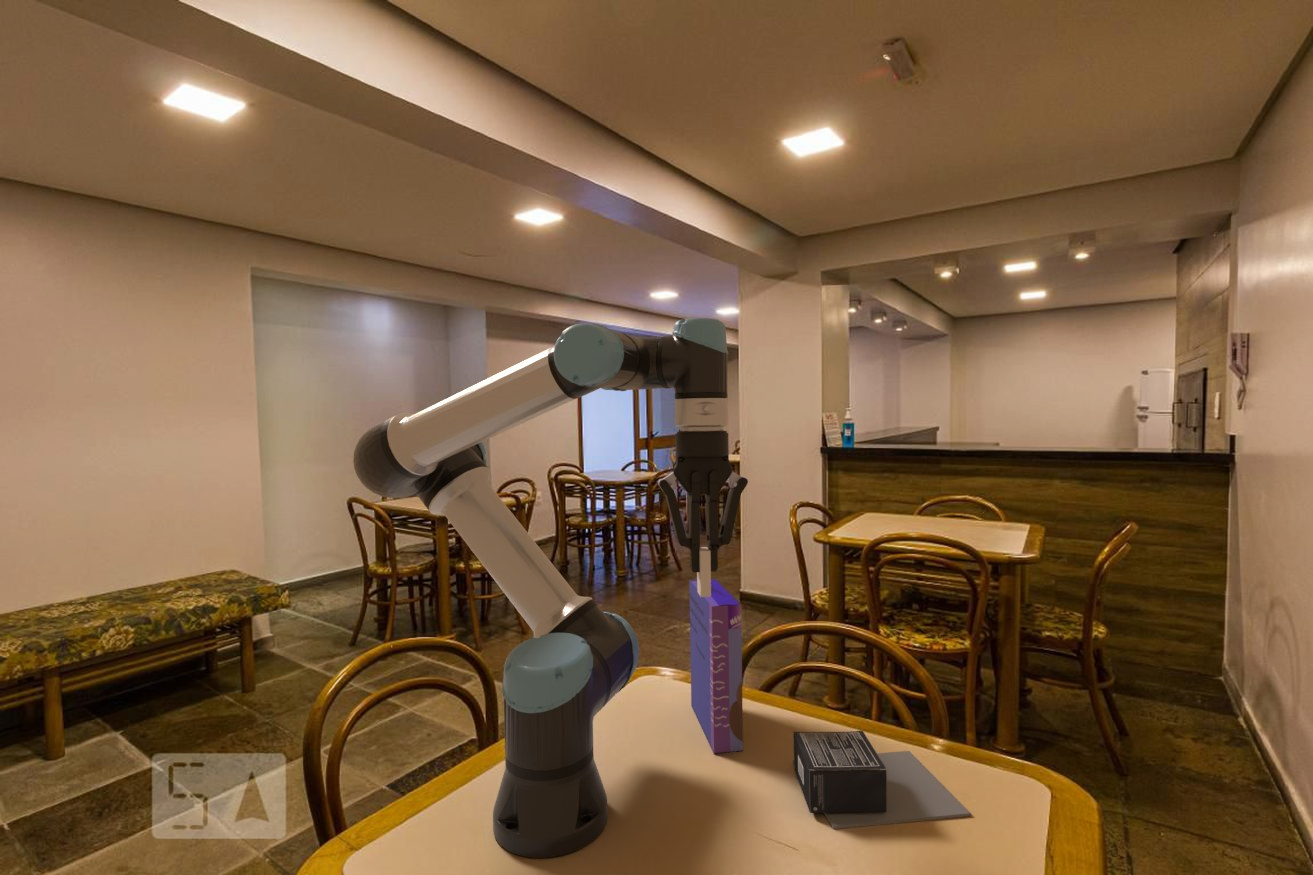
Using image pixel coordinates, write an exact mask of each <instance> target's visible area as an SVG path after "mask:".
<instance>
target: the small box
mask: <svg viewBox="0 0 1313 875" xmlns="http://www.w3.org/2000/svg"><path fill="white" fill-rule="evenodd" d="M877 753H878V752H877V751H876V750H875V748H874V747H873V745H872V743H871V742H870V740H869V738H868V737H867V735H866V733H865V732H864V731H863V730H855V731H853V730H852V731H793V760H794V764H793V766H794V767H793V768H794V770H793V771H794V773H795V777H796V778H797V781H798V784H799V786H800V789H801V792H802V794H803V797H804V800H805V803H806V805H807V808H808V812H809V813H810V814H824V813H837V812H887V769H886V767H885V765H884V764H883V762H882V761H881V759H880V757H879V756H878V754H877Z"/></svg>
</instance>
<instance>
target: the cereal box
mask: <svg viewBox="0 0 1313 875" xmlns="http://www.w3.org/2000/svg"><path fill="white" fill-rule="evenodd" d="M688 581H689V585H688V586H689V640H690V641H689V643H690V645H689V647H690V648H689V649H690V695H691V696H690V699H691V700H690V705H691V709H692V710H693V712H694V715H695V717H696V719H697V721H698V723H699V725H700V728H701V730H702V732H703V734H704V736H705V739H706V741H707V743H708V744H709V747H710V750H712V753H713V755H724V754H733V753H742V752H744V731H743V730H744V726H743V725H744V724H743V720H744V719H743V718H744V717H743V716H744V714H743V659H742V658H743V657H742V656H743V655H742V654H743V652H742V649H743V646H742V642H743V641H742V604H741V603H740V602H739V601H738V600H737V599H736V598H735V596H733V595H732V594H731V593H730V592H729V591H728V590H727V589H726V588H725V587H724V586H723V585H722V584H721V583H720V582H719V581H718V580H717V579H716V578H715V577H711V597H700V595H699V594H698V592H697V577H696V578H690V579H688Z"/></svg>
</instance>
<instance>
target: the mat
mask: <svg viewBox="0 0 1313 875" xmlns="http://www.w3.org/2000/svg"><path fill="white" fill-rule="evenodd" d="M876 753H877V754H878V756H879V757H880V759H881V761H882V762H883V764H884V765H885V767H886V769H887V812H837V813H823V814H824V816H825V818H826V819H827V821H828V822H829V824H830V827H831V828H832V829H833V830H839V829H849V828H858V827H869V826H870V827H871V826H879V825H880V826H881V825H889V824H893V825H894V824H901V823H902V824H903V823H912V822H913V823H914V822H923V821H933V820H944V819H956V818H966V817H972V815H971V812H970V811H969V810H968V809H967V808H966V806H964V804H962V803H961V802H960V801H959V800H958V798H956V797H955V796H954V795H953V793H952V792H950V790H949V789H948V788H946V787H945V785H943V783H942V782H940V780H938V778H937V777H936V776H935V775H934V774H933V773H932V772H930V770H929V769H928V768H927V767H926V766H925V765H924V764H923V763H922V762H921V761H920V760H919V758H917V757H916V756H915V755H914V754H913V753H912V752H911V750H904V751H892V752H879V753H878V752H876ZM792 764H793V765H794V759H793V760H792Z"/></svg>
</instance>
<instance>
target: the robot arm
mask: <svg viewBox="0 0 1313 875" xmlns="http://www.w3.org/2000/svg"><path fill="white" fill-rule="evenodd" d="M727 343H728V342H727V330H726V326H725V324H724V322H723V321H721V320H719V319H718V318H717V319H716V318H712V317H692V318H685V319H678V320H677V321H675V323H674V325H673V331H672V333H671V334H670V335H667V336H666V335H665V336H664V335H663V336H651V337H636V336H633V335H630V334H626V333H622V332H619V331H616V330H614V329H611V328H608V327H607V326H604V325H602V324H597V323H592V324H590V323H585V322H583V323H582V322H580V323H576V324H573V325H570V326H569V327H567V328H565V329H564V330H563V331H562V332H561V334H560V335H559V336H558V338H557V340H556V342H555V345H552V346H550V347H549V348H547V349H545V350H543V351H541V352H538V353H537V354H535V355H533V356H531V357H529V358H527V359H525V360H523V361H521V362H519V363H517V364H514V365H512V366H510V367H507V368H506V369H504V370H502V371H500V372H498V373H495V374H494V375H491V376H490V377H488V378H486V379H484V380H482V381H479V382H478V383H476V384H473V385H472V386H469V387H468V388H465V389H464V390H462V391H459V392H457V393H456V394H453V395H451V396H449V397H448V398H445V399H442V400H441V401H439V402H437V403H435V404H433V405H430V406H428V407H426V408H425V409H422V410H421V411H418V412H416V413H413V414H412V413H409V412H401V413H398V414H396V415H393V416H392V417H390V418H388V419H386V420H384V421H382V422H380V423H378V424H376V425H374V426H372V427H371V428H369V429H367V430H366V431H365V433H364V434H362V436H361V437H360V438H359V439H358V441H357V444H356V445H355V448H354V451H353V461H352V462H353V468H354V471H355V474H356V476H357V478H358V479H359V481H360V483H361V484H362V485H363V486H364V487H365V489H368V491H371V492H372V493H373V494H375V495H378V496H380V497H385V498H389V499H403V498H410V497H416V496H417V497H418V498H419V499H420V501H421V502H422V504H423V505H424V507H425V508H426V509H427V510H428V512H430V514H431V515H433V516H444V517H446V519H447V520H448V522H449V523H450V524H451V525H452V526H453V528H454V530H455V531H456V532H457V533H458V534H459V536H460V537H461V539H462V540H463V541H464V542H465V544H466V545H467V547H469V549H470V551H471V552H472V553H473V554H474V555H475V557H476V558H477V559H478V561H479V563H481V565H482V566H483V568H484V569H485V570H486V572H487V573H488V574H489V575H490V576H491V579H492V580H494V582H495V583H496V585H497V586H498V587H499V588H500V590H501V591H502V592H503V594H504V595H505V597H507V599H508V601H509V602H510V604H512V605H513V607H514V608H515V609H516V611H517V612H518V613H519V614H520V616H521V617H522V618H523V620H524V621H525V622H526V624H527V625H528V626H529V628H530V629H531V630H532V632H533V637H531V638H528V639H526V640H524V641H522V642H520V643H519V644H518V645H516V646H515V647H514V648H513V649H512V650H511V651H510V652H509V654H508V655H507V657H506V659H505V662H504V667H503V676H502V684H501V685H502V686H501V692H502V696H503V722H504V723H503V724H504V754H505V759H504V760H505V762H504V763H505V766H504V767H505V769H504V771H503V775H502V779H501V782H500V786H499V789H498V792H497V796H496V799H495V802H494V806H493V810H492V828H493V829H492V831H493V835H494V838H495V840H496V841H497V843H498V844H499V845H500V846H501V847H502V848H503V849H505V850H506V851H508V852H509V853H511V854H514V855H517V856H520V857H524V858H525V857H526V858H535V859H537V858H538V859H540V858H541V859H543V858H544V859H547V858H554V857H560V856H563V855H567V854H570V853H573V852H576V851H578V850H580V849H582V848H584V847H586V846H587V845H589V844H590V843H592V842H593V841H594V840H596V839H597V837H599V836H600V835H601V833H602V832H603V830H604V829H605V827H606V825H607V822H608V818H609V814H608V813H609V812H608V810H609V809H608V807H609V806H608V805H609V804H608V796H607V792H606V789H605V787H604V784H603V783H604V782H603V780H602V778H601V776H600V773H599V769H598V767H597V764H596V762H595V758H594V718H595V716H596V715H597V714H598V713H599V712H601V710H602V709H603V708H604V707H605V706H606V705H607V704H608V703H609V702H610V701H611V700H612V699H613V697H615V696H616V694H619V693H620V691H621V690H622V689H623V690H624V688H625V687H626V686H627V685H628V683H629V681H630V680H631V678H632V676H633V675H634V674H635V671H636V669H637V666H638V663H639V658H640V656H639V655H640V647H639V641H638V637H637V635H636V633H635V630H634V629H633V627H632V626H631V624H630V623H629V622H628V621H627V620H626V619H625V618H623V617H622V616H621V615H619V614H616V613H612V612H609V611H608V612H607V611H603V610H602V609H601V607H600V606H599V605H598V604H597V602H596V601H595V600H594V599H593V598H592V597H591V596H581V595H578V594H577V593H576V592H575V590H574V589H573V588H572V587H571V585H570V584H569V583H568V581H567V580H566V579H565V578H564V577H563V575H562V574H561V573H560V571H559V570H558V569H557V567H555V565H554V564H553V562H552V561H550V559H549V558H548V557H547V555H546V554H545V553H544V551H543V550H542V549H541V548H540V546H539V545H538V544H537V543H536V542H535V540H534V539H533V537H532V536H531V535H530V534H529V532H528V531H527V530H526V528H524V526H523V525H522V524H521V522H520V521H519V520H518V519H517V518H516V516H515V515H514V513H513V512H512V511H511V510H510V509H509V507H508V506H507V504H505V502H504V501H503V500H502V498H501V497H500V496H499V495H498V493H497V492H496V491H495V490H494V488H493V487H492V486H491V485H490V479H491V470H490V468H489V467H488V466H487V458H486V457H485V455H486V454H487V451H486V448H485V445H484V444H483V442H484V441H485V442H486V441H487V440H489V439H491V438H494V437H496V436H498V435H500V434H502V433H504V432H507V431H509V430H511V429H513V428H515V427H517V426H519V425H521V424H525V423H526V422H529V421H530V420H532V419H535V418H537V417H539V416H541V415H544V414H545V413H547V412H551V411H552V410H555V409H558V408H559V407H560V406H563V405H565V404H567V403H569V402H573V401H574V400H576V399H579V398H581V397H582V398H583V396H586V395H588V394H591V393H592V392H596V391H598V390H599V389H602V390H605V391H615V392H616V391H617V392H618V391H619V392H627V391H629V390H630V391H631V390H634V391H635V390H637V391H639V390H654V389H656V390H657V389H674V426H675V427H676V428H679V430H678V431H676V433H675V434H674V437H675V441H674V442H675V462H674V464H673V465H672V469H671V472H670V473H669V474H667V475H666V476H665V477H662V478H659V479H658V480H657V484H658V487H659V488H660V491H662V492H663V493H664V496H665V501H666V504H667V508H668V512H669V516H670V519H671V524H672V528H673V532H674V534H675V539H676V542H677V543H678V544H679V546H680V547H685V548H687V549H688V550H689V568H690V570H691V572H692V573H696V578H697V592H698V594H699V595H700V597H711V578H712V572H717V571H718V570H719V569H718V568H719V565H718V564H719V563H718V562H719V561H718V559H719V558H718V557H719V556H718V553H719V552H718V550H719V549H720V548H721V547H723V546H725V545H726V546H728V545H729V544H730V543H731V540H732V536H733V532H734V527H735V523H736V519H737V518H736V517H737V513H738V509H739V505H740V500H741V497H742V496H741V494H742V493H743V492H744V490H745V488H746V487H747V485H748V483H749V480H748V479H747V478H746V477H743V476H741V475H739V474H738V473H736V472H734V471H733V465H732V464H731V462H730V459H729V456H730V454H729V452H730V451H729V447H730V446H729V432H728V431H727V430H725V427H727V426H728V425H729V408H728V407H729V406H728V398H729V397H728V396H729V394H728V357H729V356H728V355H729V350H728V344H727ZM676 480H677V482H678V483H679V484H680V486H681V487H682V488H683V489H684V491H685V492H686V493H687V500H688V501H687V502H688V503H687V504H688V506H687V507H688V510H687V511H688V537H687V534H686V530H685V526H684V523H683V518H682V515H681V511H680V508H679V504H678V500H677V497H676V496H677V495H676V493H675V490H676V488H677V485H676ZM728 480H729V481H728ZM727 481H728V487H729V490H728V494H727V498H726V502H725V507H724V511H723V516H722V521H721V525H720V529H719V517H718V516H719V515H718V514H719V512H718V506H719V505H718V502H719V493H720V491H721V489H722V488H723V487H724V485H725V484H726V483H727ZM701 495H704V498H705V522H706V523H705V525H706V529H705V531H706V533H705V535H706V537H705V538H706V545H707V546H701V521H700V520H701V514H700V512H701V511H700V508H701V506H700V505H701V503H700V502H701Z"/></svg>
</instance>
